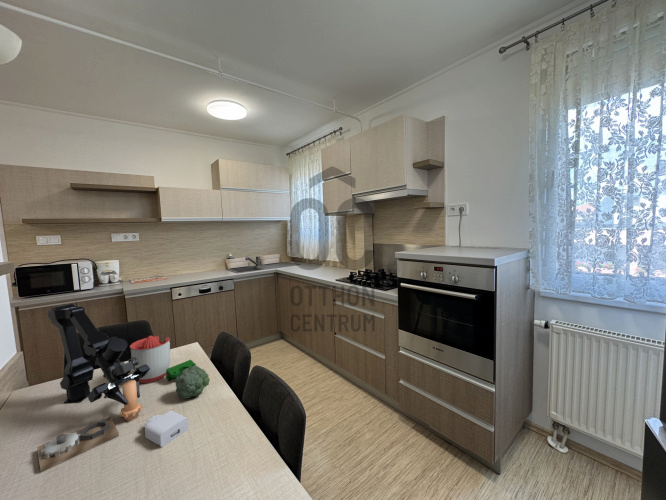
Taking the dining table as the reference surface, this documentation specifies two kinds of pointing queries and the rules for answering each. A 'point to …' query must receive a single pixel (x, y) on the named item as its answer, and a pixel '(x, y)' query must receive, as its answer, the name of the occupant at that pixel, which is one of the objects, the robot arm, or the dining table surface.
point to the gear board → (75, 443)
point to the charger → (165, 427)
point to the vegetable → (191, 382)
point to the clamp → (178, 369)
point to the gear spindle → (130, 401)
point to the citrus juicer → (152, 357)
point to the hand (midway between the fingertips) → (133, 400)
